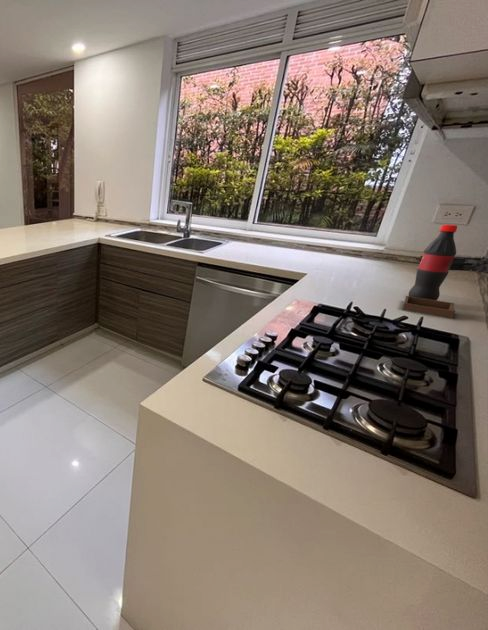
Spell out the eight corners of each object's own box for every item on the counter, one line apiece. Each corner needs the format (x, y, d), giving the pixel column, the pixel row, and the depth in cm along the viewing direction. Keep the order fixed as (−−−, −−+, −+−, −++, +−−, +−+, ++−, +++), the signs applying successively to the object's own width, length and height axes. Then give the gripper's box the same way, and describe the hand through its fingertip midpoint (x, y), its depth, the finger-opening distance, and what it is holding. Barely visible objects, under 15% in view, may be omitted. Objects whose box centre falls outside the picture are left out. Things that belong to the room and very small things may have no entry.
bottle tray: (450, 321, 115) (455, 311, 114) (400, 312, 124) (404, 303, 123) (450, 312, 124) (453, 303, 122) (403, 304, 132) (406, 295, 131)
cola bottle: (435, 301, 135) (466, 224, 124) (436, 306, 129) (468, 226, 119) (406, 297, 141) (433, 223, 130) (406, 302, 135) (434, 224, 124)
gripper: (532, 282, 116) (459, 280, 119) (465, 266, 139) (406, 265, 142) (542, 260, 113) (468, 259, 117) (473, 248, 136) (412, 247, 140)
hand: (434, 262), depth 129 cm, fingers open, 13 cm apart
